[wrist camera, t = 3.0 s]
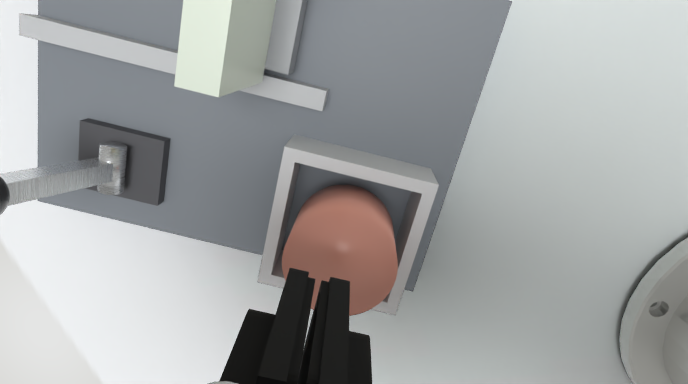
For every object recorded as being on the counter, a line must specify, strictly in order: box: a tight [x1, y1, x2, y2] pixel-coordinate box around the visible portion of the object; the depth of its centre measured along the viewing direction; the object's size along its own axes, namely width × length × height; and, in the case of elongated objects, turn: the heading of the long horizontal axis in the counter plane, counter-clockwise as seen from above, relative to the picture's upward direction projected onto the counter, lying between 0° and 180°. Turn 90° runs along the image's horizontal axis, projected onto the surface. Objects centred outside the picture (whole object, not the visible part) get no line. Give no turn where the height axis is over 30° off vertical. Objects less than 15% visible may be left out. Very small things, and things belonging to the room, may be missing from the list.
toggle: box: [0, 142, 127, 215], centre depth 15 cm, size 2×2×6 cm
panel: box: [19, 0, 512, 315], centre depth 18 cm, size 18×13×4 cm
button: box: [282, 185, 398, 316], centre depth 16 cm, size 4×4×3 cm
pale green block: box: [174, 0, 307, 97], centre depth 14 cm, size 3×4×6 cm
